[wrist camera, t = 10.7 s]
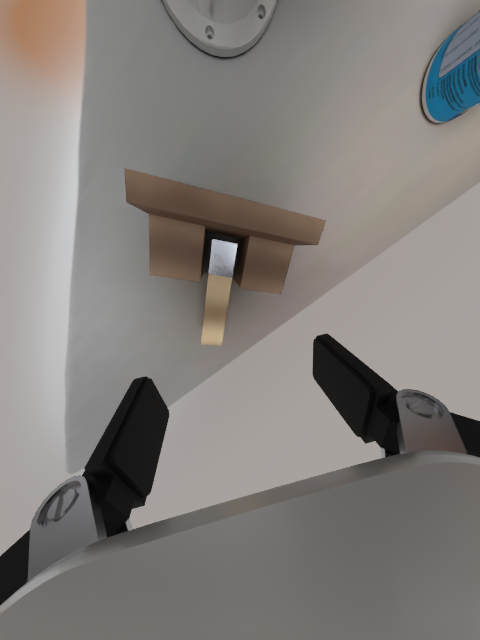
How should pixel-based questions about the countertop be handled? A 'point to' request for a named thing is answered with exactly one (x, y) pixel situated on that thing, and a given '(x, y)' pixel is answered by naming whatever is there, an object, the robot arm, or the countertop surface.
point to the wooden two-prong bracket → (217, 231)
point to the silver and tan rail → (218, 291)
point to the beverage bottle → (454, 74)
